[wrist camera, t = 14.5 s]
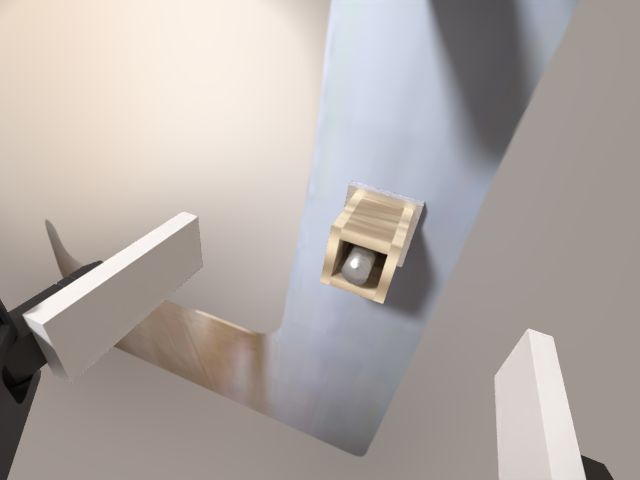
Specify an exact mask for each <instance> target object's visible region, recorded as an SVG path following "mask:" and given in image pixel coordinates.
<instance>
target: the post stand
mask: <svg viewBox="0 0 640 480" xmlns="http://www.w3.org/2000/svg"><path fill="white" fill-rule="evenodd" d="M354 194H358V195H362V196H365V197H369V198H372V199H375V200H379V201H382V202H386V203H389V204H392V205H396V206H399V207H403V208H406V209H409V210H413V214H412V217H411V221H410V224H409V227H408V231H407V234H406V237H405V240H404V244H403V247H402V250H401V253H400V256H399V259H398V262H397V265H396V266H399V267H402V265H403V262H404V260H405V257H406V254H407V251H408V248H409V245H410V243H411V240H412V237H413V234H414V231H415V229H416V226H417V223H418V220H419V217H420V215H421V212H422V209H423V206H424V201H421V200H417V199H414V198H410V197H407V196H403V195H400V194H396V193H393V192H390V191H386V190H383V189H379V188H376V187H372V186H369V185H365V184H362V183H358V182H355V181H352V182H351V183H350V184H349V187H348V192H347V197H346V201H345V206H346V205H347V204H348V202H349V201H350V199H351V198H352V197H353V195H354ZM345 206H344V208H345ZM377 254H378V251H375V250H372V249H369V248H366V247H363V246H359V245H356V244H355V245H354V247H353V249H352V251H351V253H350V254H349V256H348V258H347V260H346V262H345V264H344V266H343V267H342V276H343V278H344V279H345V280H346V281H347V282H349V283H351V284H353V285H361V284H363V283H365V282H366V280H367V278H368V276H369V273H370V271H371V268H372V266H373V263H374V261H375V258H376V256H377Z"/></svg>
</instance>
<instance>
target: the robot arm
mask: <svg viewBox="0 0 640 480" xmlns="http://www.w3.org/2000/svg"><path fill="white" fill-rule="evenodd" d="M202 267H203V265H202V254H201V243H200V232H199V222H198V216H195V215H192V214H189V213H186V212H181V213H180V214H179V215H177V216H175V217H174V218H172V219H171V220H169V221H167V222H166V223H164V224H163V225H161V226H160V227H158V228H157V229H155V230H153V231H152V232H150V233H149V234H147V235H146V236H144V237H143V238H141V239H139V240H138V241H136V242H135V243H133V244H132V245H130V246H129V247H127V248H125V249H124V250H122V251H121V252H119V253H118V254H116V255H114V256H113V257H111V258H110V259H108V260H107V261H105V262H102V261H97V262H94V263H92V264H89V265H86V266H83V267H81V268H80V269H78V270H77V271H75V272H73V273H72V274H70V275H69V277H65V278H64V279H62V280H61V281H59V282H58V283H57V284H56V285H55V284H54V285H52V286H51V287H49V288H47V289H46V290H44V291H43V292H41V293H39V294H38V295H36V296H34V297H33V298H31V299H30V300H28V301H26V302H25V303H23V304H22V305H20V306H18V307H17V308H15V309H13V310H12V311H10V312H7V310H6V308H5V307H4V305H3V303H2V301H1V300H0V480H7V477H8V474H9V471H10V468H11V465H12V462H13V459H14V456H15V453H16V450H17V447H18V444H19V441H20V438H21V435H22V432H23V429H24V425H25V423H26V420H27V417H28V413H29V411H30V407H31V405H32V402H33V399H34V396H35V392H36V389H37V386H38V383H39V380H40V377H41V370H40V368H41V367H42V366H44V365H45V364H46V363H48V365H49V366H50V368H51V370H52V372H53V374H55V375H57V376H59V377H61V378H62V379H64V380H66V381H68V382H70V383H72V382H73V381H74V380H75V379H77V378H78V377H79V376H80V375H81V374H82V373H83V372H85V371H86V370H87V369H88V368H89V367H90V366H91V365H92V364H94V363H95V362H96V361H97V360H98V359H99V358H100V357H101V356H102V355H104V354H105V353H106V352H107V351H108V350H109V349H110V348H112V347H113V346H114V345H115V344H116V343H117V342H118V341H119V340H121V339H122V338H123V337H124V336H125V335H126V334H127V333H129V332H130V331H131V330H132V329H133V328H134V327H135V326H136V325H138V324H139V323H140V322H141V321H142V320H143V319H144V318H145V317H147V316H148V315H149V314H150V313H151V312H152V311H153V310H154V309H156V308H157V307H158V306H159V305H160V304H161V303H162V302H163V301H165V300H166V299H167V298H168V297H169V296H170V295H171V294H172V293H174V292H175V291H176V290H177V289H178V288H179V287H180V286H182V285H183V284H184V283H185V282H186V281H187V280H188V279H189V278H191V277H192V276H193V275H194V274H195V273H196V272H197V271H198V270H200V269H201V268H202ZM495 398H496V399H495V400H496V424H497V447H498V467H499V468H498V470H499V480H613V478H612V476H611V475H610V473H609V472H608V470H607V468H606V467H605V465H604V464H602V463H600V462H597V461H595V460H592V459H590V458H587V457H585V456H582V455H580V451H579V447H578V443H577V439H576V434H575V430H574V426H573V421H572V417H571V413H570V408H569V404H568V400H567V396H566V391H565V387H564V383H563V378H562V375H561V370H560V366H559V361H558V357H557V353H556V349H555V345H554V341H553V337H552V336H549V335H546V334H543V333H540V332H537V331H534V330H531V329H527V331H526V332H525V334H524V335H523V337H522V338H521V339H520V341H519V342H518V344H517V345H516V347H515V348H514V349H513V351H512V352H511V354H510V355H509V357H508V358H507V360H506V361H505V362H504V364H503V365H502V367H501V368H500V370H499V371H498V373H497V374H496V376H495Z"/></svg>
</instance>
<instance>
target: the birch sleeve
mask: <svg viewBox="0 0 640 480" xmlns="http://www.w3.org/2000/svg"><path fill="white" fill-rule="evenodd" d="M412 214H413V210H409V209H406V208H403V207H399V206H396V205H392V204H389V203H386V202H382V201H379V200H375V199H372V198H369V197H365V196H362V195H358V194H354V195H353V197H352V198H351V199H350V201H349V202H348V204H347V205H346V206H345V208H344V209H343V211H342V212H341V213H340V215H339V216H338V218H337V219H336V221H335V222H334V223H333V225H332V226H331V230H330V235H329V240H328V245H327V250H326V255H325V260H324V266H323V271H322V276H321V282H323V283H326V284H329V285H332V286H335V287H337V288H340V289H343V290H346V291H348V292H351V293H354V294H357V295H360V296H362V297H365V298H368V299H371V300H374V301H376V302H379V303H382V304H383V303H384V300H385V297H386V294H387V291H388V288H389V285H390V282H391V279H392V276H393V273H394V271H395V268H396V265H397V262H398V259H399V256H400V253H401V250H402V247H403V244H404V240H405V237H406V234H407V231H408V227H409V224H410V221H411V217H412ZM355 244H356V245H359V246H363V247H366V248H369V249H372V250H375V251H378V254H377V256H376V258H375V261H374V263H373V266H372V268H371V271H370V273H369V276H368V278H367V280H366V282H365V283H363V284H361V285H353V284H351V283H349V282H347V281H346V280H345V279H344V278H343V276H342V267H343V266H344V264H345V262H346V260H347V258H348V256H349V254H350V253H351V251H352V249H353V247H354V245H355Z"/></svg>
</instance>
